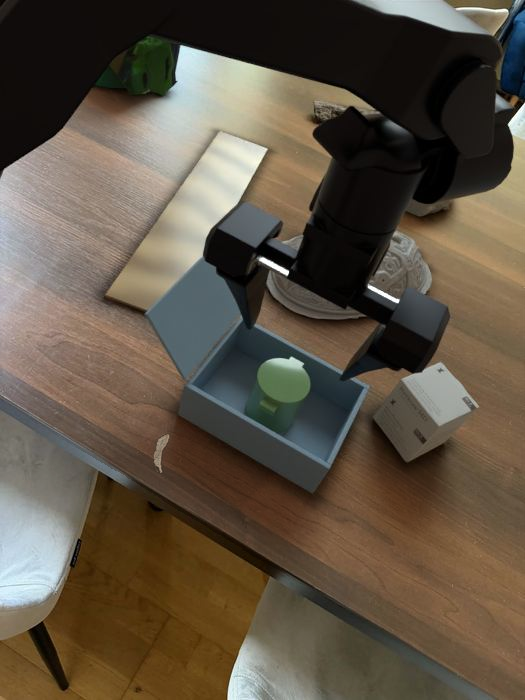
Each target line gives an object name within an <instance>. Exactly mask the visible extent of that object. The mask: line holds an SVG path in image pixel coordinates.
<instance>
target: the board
mask: <svg viewBox="0 0 525 700" xmlns="http://www.w3.org/2000/svg"><path fill="white" fill-rule="evenodd" d="M267 152H268V148H267V147H265V146H262V145H259V144H257V143H253V142H251V141H249V140H245V139H243V138H240V137H237V136H234V135H232V134H230V133H227V132H224V131H221V130H219V131H218V133H217V134H216V135H215V137H214V138H213V140H212V141H211V143H210V144H209V146H207V148H206V150H205V151H204V153H203V154H202V155H201V157H200V158H199V160H198V161H197V163H196V164H195V166H194V167H193V169H192V170H191V171H190V173H189V174H188V175H187V177H186V178H185V179H184V181H183V182H182V184H181V186H180V187H179V189H177V191H176V193H175V194H174V195H173V197H172V198H171V200H170V201H169V202H168V204H167V205H166V207H165V208H164V210H163V211H162V213H161V214H160V215H159V217H158V219H157V220H156V221H155V223H154V224H153V225H152V227H151V228H150V230H149V232H148V233H147V234H146V236H145V237H144V238H143V240H142V241H141V243H140V244H139V246H138V247H137V248H136V250H135V251H134V253H133V254H132V255H131V257H130V258H129V260H128V261H127V263H126V264H125V265H124V267H123V268H122V269H121V271H120V273H119V274H118V276H117V277H116V278H115V280H114V281H113V282H112V284H111V285H110V287H109V288H108V290H107V291H106V293H105V294H104V298H107V299H109V300H112V301H115V302H117V303H119V304H123V305H125V306H127V307H131V308H134V309H136V310H139V311H141V312H144V313H146V312H147V311H148V310H149V309H150V308H151V307H152V306H153V305H154V304H155V303H156V302H157V301H158V300H159V299H160V298H161V297H162V296H163V295H164V294H165V293H166V292H167V291H168V290H169V289H170V288H171V287H172V286H173V285H174V284H175V283H176V282H177V281H178V280H179V279H180V278H181V277H182V276H183V275H184V274H185V273H186V272H187V271H188V270H189V269H190V268H191V267H192V266H193V265H194V264H195V263H196V262H197V261H198V260H199V259H200V258H201V257H202V256H203V251H204V246H205V241H206V237H207V235H208V234H209V232H210V230H211V228H212V227H213V226H214V225H215V224H217V223H218V222H219V221H220V220H221V219H222V218H223V217H224V216H225V215H226V214H227V213H228V212H229V211H230V210H231V209H232V208H233V207H234V206H235V205H237V204H239V203H240V201H241V199H242V198H243V196H244V194H245V193H246V190H247V189H248V187H249V185H250V183H251V181H252V180H253V178H254V176H255V175H256V173H257V171H258V169H259V166H260V165H261V163H262V161H264V157H265V156H266V154H267Z"/></svg>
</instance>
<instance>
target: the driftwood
mask: <svg viewBox="0 0 525 700" xmlns="http://www.w3.org/2000/svg"><path fill="white" fill-rule="evenodd" d="M312 103H313V113H314V120H316V121H319V122H321V123H322V122H324V121H325V120H327V119H330V118H333V117H336V116H338V115H340V114H341V113H343V112H344V111H345V110H346V109H347V108H348V107H349V106H343V105H339V104H338V103H332V102H331V103H330V102H327V101H319V100H313V101H312ZM355 108H356V109H357V110H358V111H359V112H360V113H362V114H363V115H367V114H376V113H379V112H378V111H377V110H375V109H370V110H369V109H365V108H360V107H355Z"/></svg>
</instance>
